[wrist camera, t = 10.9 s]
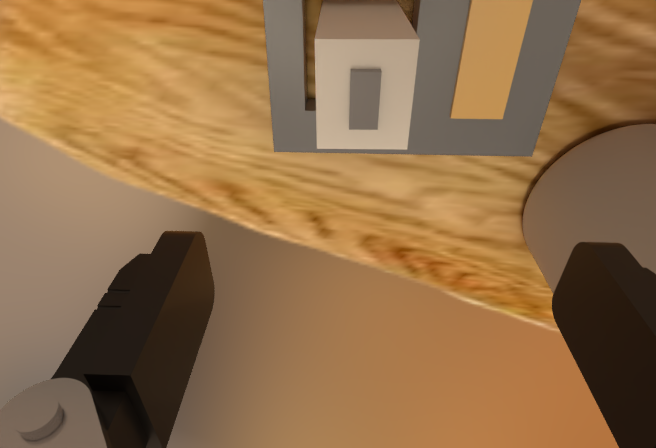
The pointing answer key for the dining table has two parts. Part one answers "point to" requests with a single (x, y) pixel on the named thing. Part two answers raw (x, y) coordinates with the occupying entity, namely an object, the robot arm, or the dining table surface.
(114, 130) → the dining table surface
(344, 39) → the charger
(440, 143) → the plate
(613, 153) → the cylinder vase
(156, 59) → the dining table surface
